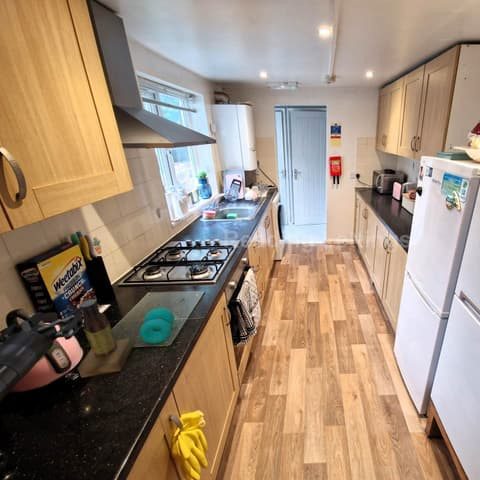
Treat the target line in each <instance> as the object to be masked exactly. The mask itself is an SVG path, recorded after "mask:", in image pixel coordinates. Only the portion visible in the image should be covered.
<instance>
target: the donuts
mask: <svg viewBox="0 0 480 480" xmlns="http://www.w3.org/2000/svg"><path fill="white" fill-rule="evenodd" d="M174 322H175V316H174V313H173V312H172V311H171V310H169V309H168V308H164V307H156V308H154V309H152V310H149V311H148V312H147V313H146V314H145V317H144V323H143V324H142V325H141V327H140V328H139V336H140V338H141V339H142V340H143V341H144V342H145V343H149V344H160V343H162V342H164V341H166V340H167V339H169V337H170V336H171V333H172V325H173V324H174Z"/></svg>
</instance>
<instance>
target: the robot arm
mask: <svg viewBox="0 0 480 480" xmlns="http://www.w3.org/2000/svg"><path fill="white" fill-rule="evenodd" d="M82 316H84V314H83V312H82V310H81V309H80V307H76V308H74V309H73V311H72V312H71V313H69V315H68V316H67V317H64V318H63V319H56V320H54V321H52V322H50V323H46V324H40V323H41V322H42V321H43V320H44V315H43V313H42V312H41V311H40V312H35V314H33V315H31V316H30V317H29V318H28V319H26V320H24V321H22V322H20V324H17V323H12V324H10V325H9V326H8V327H6V329H5V330H3V332H2V333H0V403H1V402H2V401H3V400H4V399H5V398H6V397H7V395H8V394H9V393H10V392H11V391H12V390H13V389H14V388H15V386H16V385H17V384H18V383H19V382H21V380H23V379H24V378H25V377H26V376H27V375H28V374H29V373H30V372H31V371H32V369H33V368H34V367H35V366H36V365H37V364H38V363H39V361H41V359H42V358H44V356H45V354H47V352H48V351H49V349H50V346H51V343H53V342H54V341H56V340H57V339H59V338H60V339H61V338H64V340H66V341H67V340H70V339H72V338H73V336H74V335H76V334H77V332H78V331H80V329H81V328H83V325H84V323H83V322H84V320H83V318H82ZM65 323H67V324H65ZM56 326H58V328H59V329H57V328H56Z"/></svg>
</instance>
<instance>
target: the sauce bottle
mask: <svg viewBox="0 0 480 480" xmlns="http://www.w3.org/2000/svg"><path fill="white" fill-rule="evenodd" d="M78 307H79V308H80V309H81V310H82V312H83V323H84V325H83V326H82V329H83V332H84V333H85V336H86V339H87V341H88V344H89V346H90V349H92V350H93V353H95V355H96V356H98V357H99V356H100V357H101V356H106V355H108V354H110V353H112V352H113V351H114V350H115V349H116V347H117V345H116V337H115V335H114V333H113V330H112V328H111V325H110V322H109V320H108V318H107V316H106V314H105V313H102V312H101V311H100V310H99V307H98V302H97V300H96V299H95V298H94V299H93V298H92V299H87V300H84V301H82V302H81V303H80V304H79V305H78Z"/></svg>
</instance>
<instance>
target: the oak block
mask: <svg viewBox="0 0 480 480" xmlns="http://www.w3.org/2000/svg"><path fill="white" fill-rule="evenodd" d="M115 341H116V345H117V347H116V349H115V350H114V351H113V352H112V353H110V354H108V355H106V356H101V357H100V356H99V357H98V356H96V355H95V353H93V350H92V348H90V349H89V352H87V354H86V356H85V357H84V359H83V360H82V361H81V363H80V364H79V366H77V372H78V373H79V375H80V377H81V379H83V378H88V377H94V376H98V375H105V374H110V373H115V372H121V371H122V370H123V367H124V366H125V364H126V362H127V360H128V357H129V356H130V354H131V353H132V350H133V349H134V345H133V341H132V339H131V337H129V338H124V339H117V340H116V339H115Z"/></svg>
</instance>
